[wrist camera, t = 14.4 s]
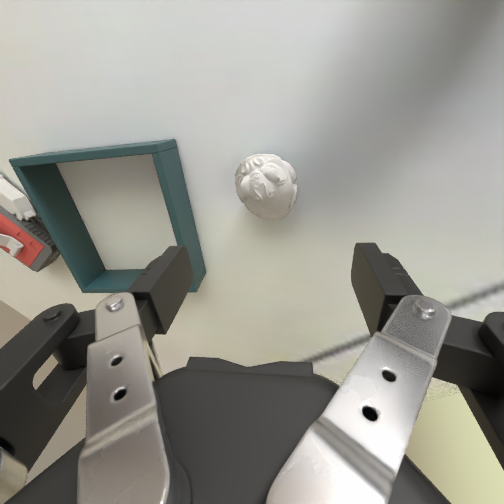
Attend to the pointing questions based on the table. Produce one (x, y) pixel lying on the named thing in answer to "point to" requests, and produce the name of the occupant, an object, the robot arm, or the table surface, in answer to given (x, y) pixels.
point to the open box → (73, 229)
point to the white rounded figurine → (266, 186)
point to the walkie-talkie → (23, 230)
